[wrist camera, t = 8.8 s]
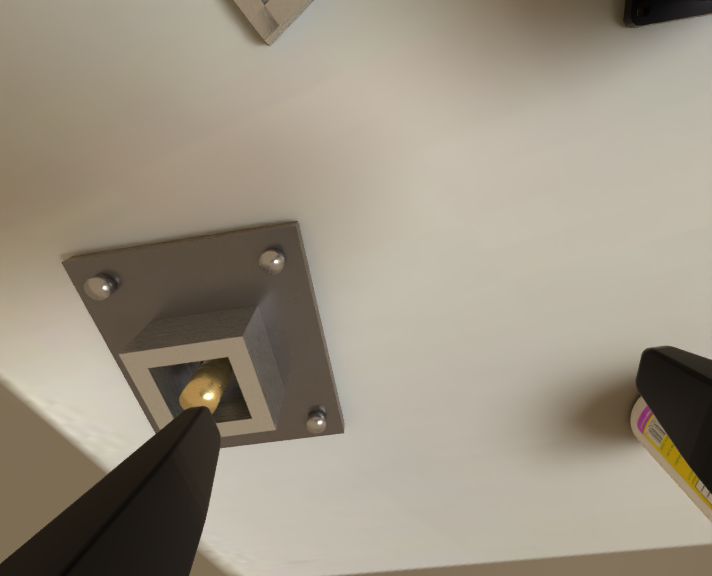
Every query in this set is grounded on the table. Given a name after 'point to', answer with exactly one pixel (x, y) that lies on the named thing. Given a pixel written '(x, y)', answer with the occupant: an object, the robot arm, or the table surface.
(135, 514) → the robot arm
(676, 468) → the supplement bottle
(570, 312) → the table surface
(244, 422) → the end link
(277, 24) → the chain tail
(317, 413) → the keeper plate
